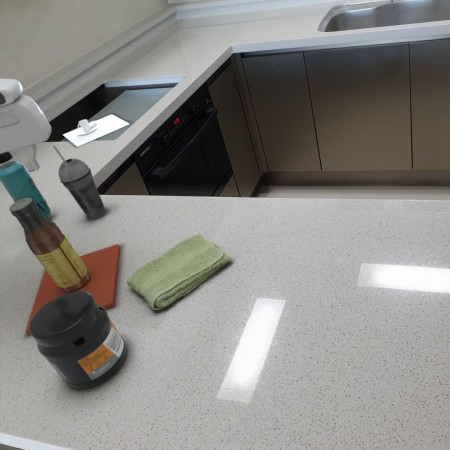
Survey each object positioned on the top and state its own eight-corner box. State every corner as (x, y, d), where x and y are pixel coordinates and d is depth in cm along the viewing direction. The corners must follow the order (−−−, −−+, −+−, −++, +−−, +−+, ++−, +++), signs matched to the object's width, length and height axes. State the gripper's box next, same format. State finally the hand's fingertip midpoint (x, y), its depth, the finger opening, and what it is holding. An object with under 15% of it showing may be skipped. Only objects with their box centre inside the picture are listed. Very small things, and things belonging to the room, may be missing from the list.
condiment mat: (28, 335, 84) (25, 331, 84) (47, 270, 100) (45, 266, 100) (114, 306, 86) (112, 302, 85) (120, 247, 102) (118, 243, 102)
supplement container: (140, 355, 75) (108, 303, 68) (81, 403, 69) (40, 352, 62) (110, 328, 81) (78, 279, 74) (54, 370, 76) (14, 321, 69)
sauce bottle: (79, 269, 96) (29, 189, 85) (98, 276, 93) (48, 194, 82) (53, 290, 92) (-4, 209, 81) (71, 298, 89) (15, 215, 78)
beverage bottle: (32, 231, 116) (-14, 162, 105) (27, 222, 121) (-18, 155, 110) (57, 218, 119) (15, 150, 108) (51, 210, 124) (10, 143, 112)
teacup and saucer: (96, 124, 176) (91, 114, 174) (103, 128, 171) (98, 117, 168) (74, 133, 173) (69, 123, 170) (80, 137, 167) (75, 127, 165)
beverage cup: (117, 208, 117) (80, 137, 106) (94, 224, 113) (53, 152, 101) (99, 204, 121) (62, 135, 110) (76, 220, 116) (35, 149, 105)
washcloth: (236, 261, 90) (231, 249, 88) (158, 317, 81) (151, 304, 79) (200, 239, 98) (195, 227, 96) (126, 287, 90) (119, 275, 88)
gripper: (-124, 125, 67) (-64, 204, 75) (19, 88, 69) (63, 168, 77) (-105, 112, 72) (-50, 187, 80) (28, 77, 74) (68, 153, 82)
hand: (6, 177), depth 78 cm, fingers open, 8 cm apart
